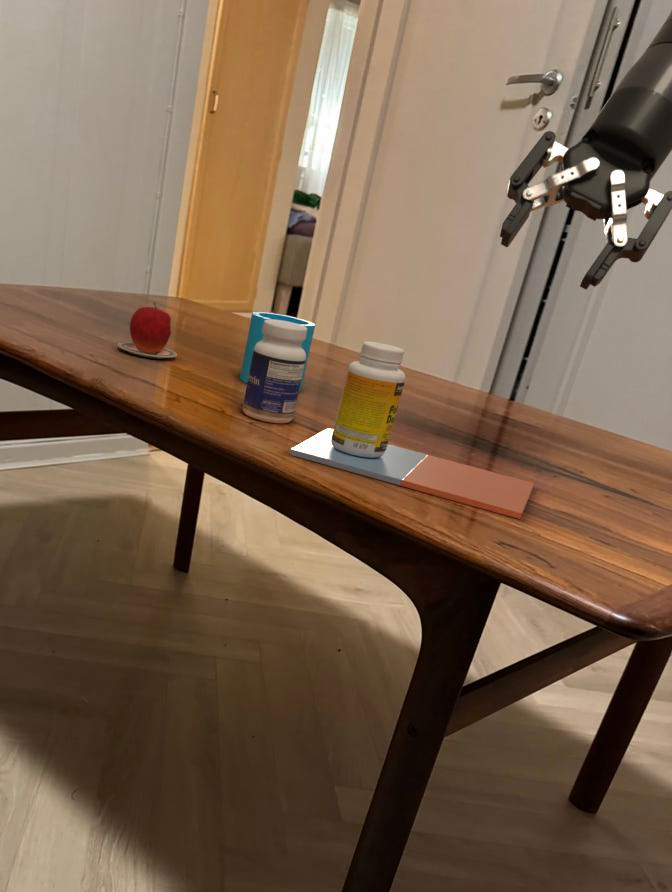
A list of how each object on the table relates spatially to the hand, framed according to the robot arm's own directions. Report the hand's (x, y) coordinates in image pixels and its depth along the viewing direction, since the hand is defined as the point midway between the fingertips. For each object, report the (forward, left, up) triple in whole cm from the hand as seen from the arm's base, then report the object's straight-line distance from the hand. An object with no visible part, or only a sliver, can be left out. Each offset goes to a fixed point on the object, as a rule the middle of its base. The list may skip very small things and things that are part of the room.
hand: (544, 263), depth 85 cm
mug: (+29, -19, -20) cm, 41 cm away
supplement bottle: (+11, +8, -20) cm, 24 cm away
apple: (+47, -16, -20) cm, 54 cm away
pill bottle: (+23, +2, -20) cm, 31 cm away
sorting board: (+5, +8, -20) cm, 22 cm away
